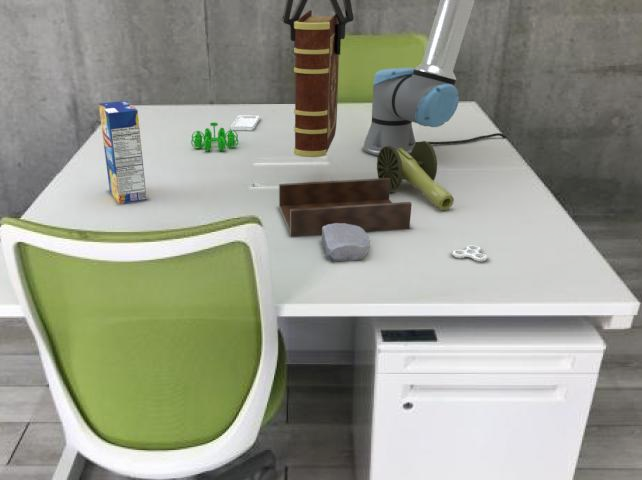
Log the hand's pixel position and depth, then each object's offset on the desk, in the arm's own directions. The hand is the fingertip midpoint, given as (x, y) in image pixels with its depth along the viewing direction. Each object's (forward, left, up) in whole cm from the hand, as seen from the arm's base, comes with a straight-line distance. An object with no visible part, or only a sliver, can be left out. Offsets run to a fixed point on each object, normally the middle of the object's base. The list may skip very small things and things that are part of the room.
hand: (317, 54), depth 173 cm
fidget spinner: (-23, +49, -32) cm, 63 cm away
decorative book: (0, 0, -22) cm, 22 cm away
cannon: (-24, +12, -32) cm, 42 cm away
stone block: (+1, +42, -32) cm, 53 cm away
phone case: (+11, -64, -32) cm, 72 cm away
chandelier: (+23, -40, -32) cm, 56 cm away
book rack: (-2, +24, -32) cm, 40 cm away
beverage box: (+48, 0, -32) cm, 58 cm away
